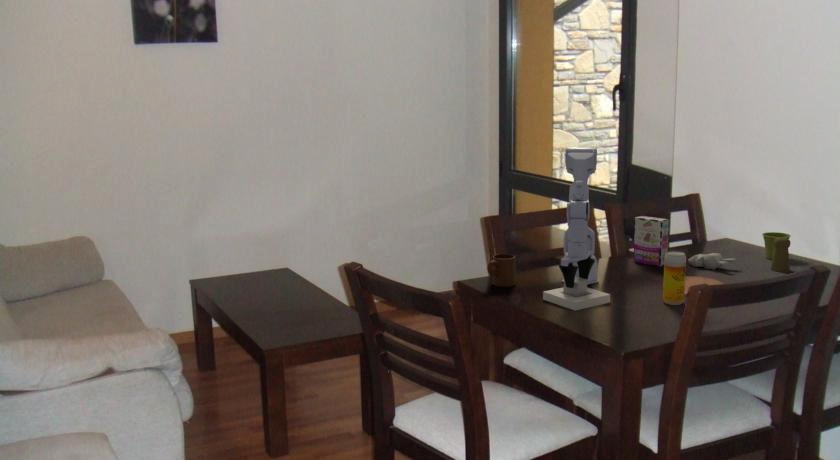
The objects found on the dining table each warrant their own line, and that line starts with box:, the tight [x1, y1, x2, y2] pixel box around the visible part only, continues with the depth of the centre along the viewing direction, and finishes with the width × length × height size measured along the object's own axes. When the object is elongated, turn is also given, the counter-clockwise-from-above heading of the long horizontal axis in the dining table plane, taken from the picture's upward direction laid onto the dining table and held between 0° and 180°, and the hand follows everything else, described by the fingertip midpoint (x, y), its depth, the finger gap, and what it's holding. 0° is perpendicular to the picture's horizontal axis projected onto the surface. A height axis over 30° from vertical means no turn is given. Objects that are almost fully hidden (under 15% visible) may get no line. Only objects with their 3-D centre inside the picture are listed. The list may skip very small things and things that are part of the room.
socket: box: [542, 286, 611, 311], centre depth 248 cm, size 14×14×3 cm
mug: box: [486, 253, 517, 288], centre depth 266 cm, size 12×8×9 cm, turn 137°
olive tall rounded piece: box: [770, 238, 791, 273], centre depth 279 cm, size 6×6×11 cm
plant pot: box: [761, 231, 792, 260], centre depth 295 cm, size 9×9×9 cm
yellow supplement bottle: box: [662, 251, 687, 306], centre depth 244 cm, size 6×6×15 cm
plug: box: [563, 276, 588, 297], centre depth 248 cm, size 5×5×6 cm
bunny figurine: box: [688, 252, 737, 270], centre depth 284 cm, size 10×5×15 cm
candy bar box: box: [633, 215, 670, 268], centre depth 290 cm, size 11×5×16 cm, turn 42°
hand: (576, 284), depth 248 cm, fingers open, 7 cm apart
